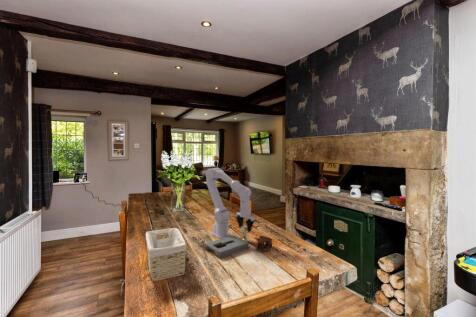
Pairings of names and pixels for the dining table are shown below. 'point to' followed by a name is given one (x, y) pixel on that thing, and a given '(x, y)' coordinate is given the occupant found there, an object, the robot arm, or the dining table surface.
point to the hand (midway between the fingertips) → (245, 229)
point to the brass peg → (244, 232)
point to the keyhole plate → (227, 246)
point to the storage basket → (166, 254)
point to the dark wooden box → (263, 246)
